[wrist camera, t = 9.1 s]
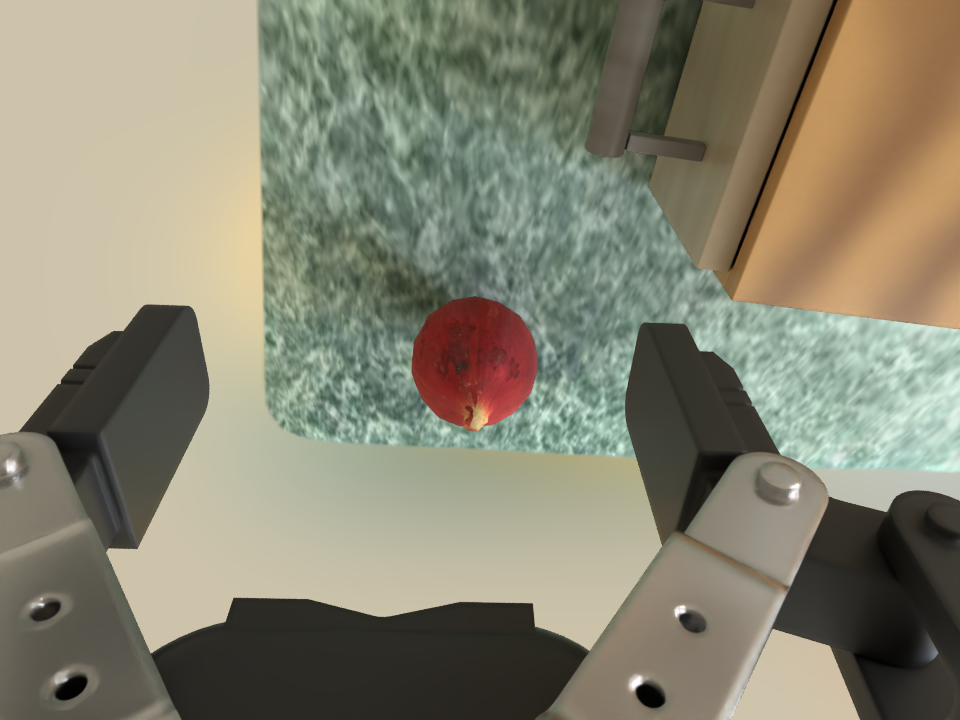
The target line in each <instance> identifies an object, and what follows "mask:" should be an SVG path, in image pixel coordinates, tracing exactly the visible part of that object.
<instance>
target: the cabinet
mask: <svg viewBox="0 0 960 720" xmlns="http://www.w3.org/2000/svg"><path fill="white" fill-rule="evenodd" d="M713 272H714V273H715V275H716V277H717V278H718V280H719V281H720V283H721V284H722V286H723V288H724V289H725V291H726V292H727V294H728V295H729V297H730V299H731V300H734V301H742V302H750V303H758V304H766V305H773V306H781V307H789V308H797V309H805V310H812V311H820V312H828V313H836V314H844V315H851V316H859V317H867V318H875V319H883V320H890V321H898V322H906V323H914V324H922V325H929V326H937V327H945V328H953V329H960V0H838V1H837V4H836V6H835V9H834V11H833V14H832V16H831V19H830V21H829V24H828V27H827V29H826V32H825V34H824V37H823V39H822V42H821V44H820V47H819V50H818V52H817V55H816V57H815V60H814V62H813V65H812V68H811V70H810V73H809V75H808V78H807V80H806V83H805V85H804V88H803V91H802V93H801V96H800V98H799V101H798V103H797V106H796V108H795V111H794V114H793V116H792V119H791V121H790V124H789V126H788V129H787V131H786V134H785V137H784V139H783V142H782V144H781V147H780V149H779V152H778V154H777V157H776V160H775V162H774V165H773V167H772V170H771V172H770V175H769V178H768V180H767V183H766V185H765V188H764V190H763V193H762V195H761V198H760V201H759V203H758V206H757V208H756V211H755V213H754V216H753V218H752V221H751V224H750V226H749V229H747V228H745V230H744V233H743V236H742V238H741V241H740V243H739V246H738V248H737V251H736V254H735V256H734V259H733V261H732V264H731V266H730V269H729V271H728V272H722V271H714V270H713Z"/></svg>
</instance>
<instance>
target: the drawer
mask: <svg viewBox="0 0 960 720" xmlns="http://www.w3.org/2000/svg"><path fill="white" fill-rule="evenodd" d="M664 1H665V0H619V3H618V7H617V12H616V16H615V20H614V24H613V29H612V33H611V37H610V41H609V46H608V50H607V54H606V58H605V63H604V67H603V71H602V75H601V80H600V84H599V88H598V92H597V96H596V101H595V105H594V109H593V113H592V118H591V122H590V126H589V130H588V135H587V139H586V143H585V148H586V150H588V151H589V152H591V153H593V154H596V155H599V156H603V157H609V158H618V157H621V156H623V154H624V150H625V149H626V151H630V152H637V153H644V154H651V155H657V156H658V157H657V160H656V164H655V167H654V170H653V174H652V177H651V181H650V184H649V189H650V191H651V192H652V194H653V196H654V197H655V199H656V201H657V202H658V204H659V206H660V207H661V209H662V211H663V212H664V214H665V216H666V218H667V219H668V221H669V223H670V224H671V226H672V228H673V229H674V231H675V233H676V234H677V236H678V238H679V239H680V241H681V243H682V244H683V246H684V248H685V249H686V251H687V253H688V254H689V256H690V258H691V260H692V261H693V263H694V265H695V266H696V268H699V269H707V270H714V271H722V272H728V271H729V269H730V266H731V264H732V261H733V259H734V256H735V254H736V251H737V248H738V246H739V243H740V241H741V238H742V236H743V233H744V230H745V228H747V229H749V226H750V224H751V221H752V218H753V216H754V213H755V211H756V208H757V206H758V203H759V201H760V198H761V195H762V193H763V190H764V188H765V185H766V183H767V180H768V178H769V175H770V172H771V170H772V167H773V165H774V162H775V160H776V157H777V154H778V152H779V149H780V147H781V144H782V142H783V139H784V137H785V134H786V131H787V129H788V126H789V124H790V121H791V119H792V116H793V114H794V111H795V108H796V106H797V103H798V101H799V98H800V96H801V93H802V91H803V88H804V85H805V83H806V80H807V78H808V75H809V73H810V70H811V68H812V65H813V62H814V60H815V57H816V55H817V52H818V50H819V47H820V44H821V42H822V39H823V37H824V34H825V32H826V29H827V27H828V24H829V21H830V19H831V16H832V14H833V11H834V9H835V6H836V4H837V1H838V0H702V1H703V5H702V8H701V12H700V15H699V18H698V22H697V25H696V29H695V32H694V35H693V39H692V42H691V45H690V49H689V52H688V56H687V59H686V62H685V66H684V69H683V72H682V76H681V79H680V83H679V86H678V89H677V93H676V96H675V99H674V103H673V106H672V110H671V113H670V116H669V120H668V123H667V127H666V130H665V133H664V135H658V134H651V133H644V132H638V131H631V130H630V128H631V124H632V121H633V117H634V113H635V109H636V106H637V102H638V98H639V95H640V91H641V87H642V83H643V80H644V76H645V72H646V68H647V65H648V61H649V57H650V54H651V50H652V46H653V42H654V39H655V35H656V31H657V27H658V24H659V20H660V16H661V12H662V9H663V5H664Z"/></svg>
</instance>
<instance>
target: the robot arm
mask: <svg viewBox="0 0 960 720" xmlns="http://www.w3.org/2000/svg"><path fill="white" fill-rule="evenodd" d="M208 399H209V378H208V373H207V367H206V362H205V357H204V353H203V348H202V343H201V338H200V333H199V328H198V323H197V318H196V315H195V312H194V310H193V309H192V308H191V307H190V306H176V305H144V306H143V307H142V308H141V309H140V310H139V312H138V313H137V314H136V316H135V317H134V318H133V319H132V321H131V322H130V323H129V325H128V326H127V327H126V329H125V330H124V331H113V332H111V333H110V334H108V335H106V336H105V337H103V338H102V339H100V340H98V341H97V342H95V343H93V344H92V345H90V346H89V347H88V348H87V349H86V350H85V351H84V353H83V354H82V355H81V356H80V357H79V359H78V360H77V361H76V362H75V364H74V365H73V369H70V370H69V371H68V372H67V374H66V375H65V376H64V377H63V378H62V380H61V384H57V386H56V387H55V388H54V389H53V390H52V392H51V393H50V394H49V395H48V397H47V398H46V399H45V400H44V402H43V403H42V404H41V405H40V406H39V408H38V409H37V410H36V411H35V412H34V414H33V415H32V416H31V417H30V419H29V420H28V421H27V422H26V423H25V425H24V426H23V427H22V429H21V430H20V431H19V432H15V433H8V434H3V435H0V720H731V719H732V717H733V714H734V712H735V710H736V708H737V706H738V703H739V701H740V699H741V697H742V695H743V692H744V690H745V688H746V686H747V684H748V682H749V679H750V677H751V675H752V673H753V670H754V668H755V666H756V664H757V662H758V659H759V657H760V655H761V653H762V651H763V649H764V646H765V644H766V642H767V640H768V638H769V636H770V633H771V631H772V629H776V630H779V631H782V632H786V633H789V634H792V635H796V636H799V637H802V638H806V639H809V640H812V641H816V642H819V643H822V644H826V645H829V646H830V647H831V649H832V652H833V654H834V656H835V659H836V662H837V664H838V666H839V669H840V671H841V674H842V676H843V679H844V681H845V684H846V686H847V688H848V691H849V693H850V696H851V698H852V701H853V703H854V705H855V708H856V711H857V713H858V716H859V718H860V720H960V501H959V500H956V499H954V498H952V497H949V496H946V495H943V494H939V493H935V492H930V491H908V492H904V493H901V494H900V495H898V496H896V498H895V499H894V500H893V502H892V503H891V505H890V507H889V509H888V511H887V512H883V511H879V510H875V509H871V508H867V507H863V506H859V505H856V504H851V503H848V502H844V501H840V500H837V499H834V498H831V497H829V495H828V492H827V489H826V487H825V485H824V483H823V482H822V481H821V479H820V478H819V477H818V476H817V475H816V474H815V473H814V472H813V471H811V470H810V469H809V468H807V467H806V466H804V465H802V464H801V463H799V462H797V461H795V460H793V459H790V458H788V457H785V456H782V455H780V453H779V451H778V450H777V448H776V446H775V444H774V442H773V440H772V439H771V437H770V435H769V433H768V431H767V429H766V428H765V426H764V424H763V422H762V420H761V418H760V417H759V415H758V413H757V411H756V409H755V407H754V406H752V405H751V404H752V402H751V400H750V398H749V397H748V395H747V393H746V391H743V386H742V384H741V382H740V380H739V378H738V376H737V375H736V373H735V371H734V369H733V368H732V367H731V366H730V365H728V364H727V363H726V362H725V361H723V360H722V359H721V358H720V357H719V356H717V355H716V354H715V353H714V352H703V351H699V350H698V348H697V346H696V344H695V342H694V340H693V338H692V336H691V334H690V332H689V330H688V328H687V326H686V325H685V324H671V323H643V324H642V325H641V327H640V329H639V332H638V337H637V342H636V347H635V352H634V357H633V361H632V366H631V371H630V376H629V381H628V386H627V392H626V400H625V415H626V423H627V427H628V431H629V434H630V438H631V441H632V444H633V448H634V451H635V455H636V458H637V461H638V465H639V468H640V472H641V475H642V478H643V482H644V485H645V489H646V492H647V496H648V499H649V502H650V506H651V509H652V512H653V516H654V519H655V523H656V526H657V530H658V533H659V536H660V540H661V543H662V548H661V549H660V550H659V552H658V553H657V555H656V556H655V558H654V559H653V561H652V562H651V564H650V565H649V566H648V568H647V569H646V571H645V572H644V574H643V575H642V577H641V578H640V579H639V581H638V582H637V584H636V585H635V587H634V588H633V590H632V591H631V592H630V594H629V595H628V597H627V598H626V600H625V601H624V602H623V604H622V605H621V607H620V608H619V610H618V611H617V613H616V614H615V615H614V617H613V618H612V620H611V621H610V623H609V624H608V626H607V627H606V629H605V630H604V631H603V633H602V634H601V636H600V637H599V639H598V640H597V642H596V643H595V644H594V646H593V647H592V649H591V650H590V651H589V650H587V649H586V648H584V647H583V646H581V645H580V644H578V643H576V642H573V641H572V640H570V639H568V638H566V637H564V636H561V635H559V634H556V633H553V632H551V631H548V630H545V629H541V628H538V627H535V623H534V612H533V604H532V603H530V604H529V603H482V602H481V603H479V602H459V603H453V604H449V605H443V606H439V607H434V608H429V609H424V610H419V611H414V612H409V613H405V614H400V615H395V616H390V617H377V616H372V615H368V614H364V613H360V612H356V611H352V610H348V609H345V608H340V607H336V606H332V605H328V604H325V603H321V602H317V601H313V600H309V599H270V598H269V599H267V598H233V601H232V604H231V607H230V610H229V613H228V616H227V620H226V622H224V623H219V624H215V625H212V626H209V627H205V628H202V629H199V630H196V631H194V632H191V633H189V634H187V635H184V636H182V637H179V638H178V639H176V640H174V641H172V642H170V643H168V644H166V645H164V646H162V647H161V648H159V649H157V650H156V651H154V652H153V653H150V651H149V649H148V647H147V645H146V642H145V640H144V638H143V635H142V633H141V631H140V628H139V626H138V624H137V622H136V620H135V617H134V615H133V613H132V610H131V608H130V606H129V604H128V601H127V599H126V597H125V594H124V592H123V590H122V588H121V585H120V583H119V581H118V579H117V576H116V574H115V572H114V570H113V567H112V565H111V563H110V561H109V558H108V556H107V554H106V552H107V550H108V548H119V549H121V548H122V549H138V547H139V545H140V542H141V541H142V538H143V536H144V534H145V532H146V530H147V528H148V526H149V524H150V522H151V520H152V518H153V516H154V514H155V512H156V510H157V508H158V506H159V504H160V502H161V500H162V498H163V496H164V494H165V492H166V490H167V488H168V486H169V484H170V482H171V480H172V478H173V476H174V474H175V472H176V470H177V468H178V466H179V464H180V462H181V460H182V458H183V456H184V454H185V452H186V450H187V448H188V446H189V444H190V442H191V440H192V438H193V436H194V433H195V432H196V430H197V428H198V426H199V424H200V422H201V420H202V418H203V416H204V414H205V411H206V408H207V404H208Z"/></svg>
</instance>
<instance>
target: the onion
mask: <svg viewBox="0 0 960 720" xmlns="http://www.w3.org/2000/svg"><path fill="white" fill-rule="evenodd" d="M537 369H538V357H537V353H536V348H535V343H534V339H533V337H532V335H531V332H530V331H529V329H528V328H527V326H526V325H525V323H524V322H523V320H522V319H521V317H520V316H519V315H518V314H516V313H515V312H513V311H511V310H510V309H508V308H507V307H505V306H504V305H502V304H501V303H499V302H497V301H493V300H489V299H484V298H480V297H476V296H474V297H469V298H463V299H457V300H453V301H450V302H448V303H447V304H445V305H444V306H442V307H441V308H439V309H438V310H436V311H435V312H433V313H432V314H430V315H429V316H428V318H427V320H426V322H425V323H424V325H423V327H422V329H421V331H420V332H419V334H418V336H417V338H416V339H415V341H414V347H413V357H412V375H413V378H414V381H415V384H416V386H417V388H418V391H419V393H420V395H421V398H422V400H423V401H424V402H425V403H426V404H427V405H428V406H429V407H430V409H431V410H432V411H433V412H434V413H435V414H436V415H437V416H438V417H439V418H441V419H443V420H446V421H448V422H451V423H453V424H455V425H458V426H463V428H465V429H467V430H470V431H478V430H479V429H480V428H481V427H482V426H487V425H493V424H496V423H497V422H499V421H501V420H503V419H504V418H506V417H508V416H510V415H511V414H513V413H514V412H515V411H516V410H517V409H518V408H519V407H520V405H521V404H522V403H523V402H524V401H525V400H526V399H527V397H528V396H529V395H530V393H531V391H532V388H533V384H534V381H535V377H536V373H537Z"/></svg>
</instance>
